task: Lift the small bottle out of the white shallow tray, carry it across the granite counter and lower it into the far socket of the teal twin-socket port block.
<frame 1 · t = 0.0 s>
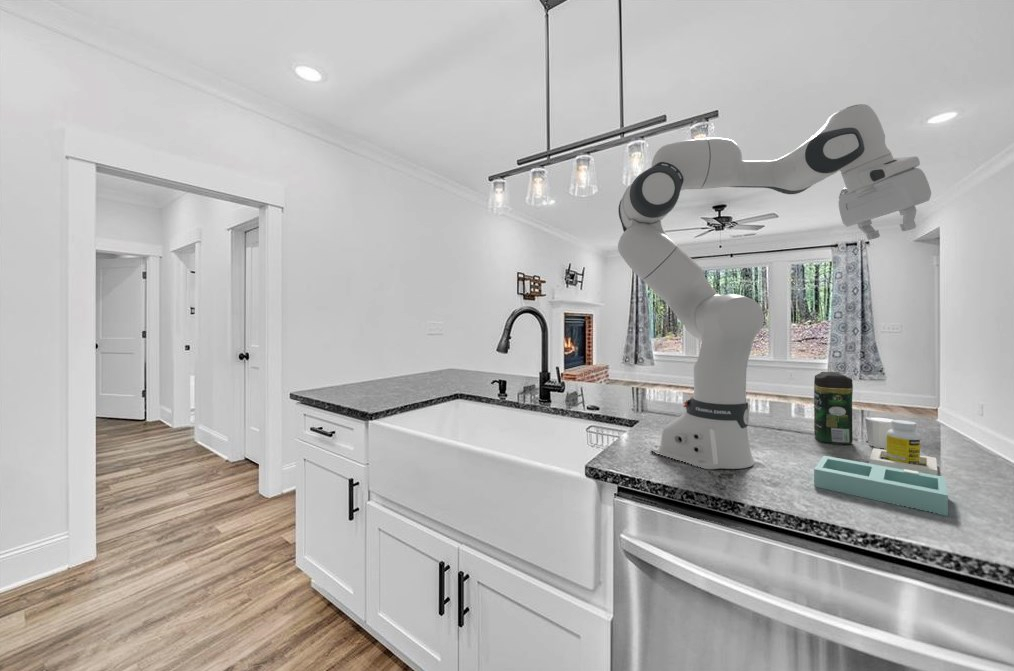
hand: (890, 234, 92), 52 cm above the worktop, tool tilted 20°, fingers open, 8 cm apart
coffee jar: (832, 441, 111), on the worktop
port block: (877, 490, 78), on the worktop
white round container: (882, 447, 105), on the worktop
supplement bottle: (902, 465, 92), resting in white shallow tray
white shallow tray: (902, 464, 92), on the worktop
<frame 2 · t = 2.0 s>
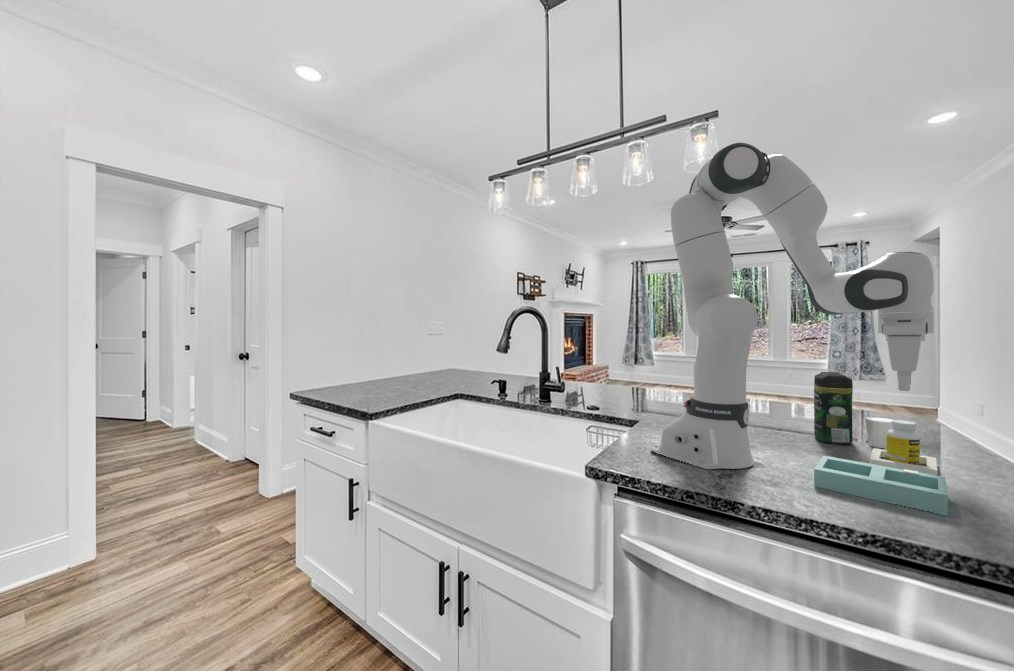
hand: (904, 387, 91), 17 cm above the worktop, tool pointing down, fingers open, 8 cm apart
nothing on the worktop moved.
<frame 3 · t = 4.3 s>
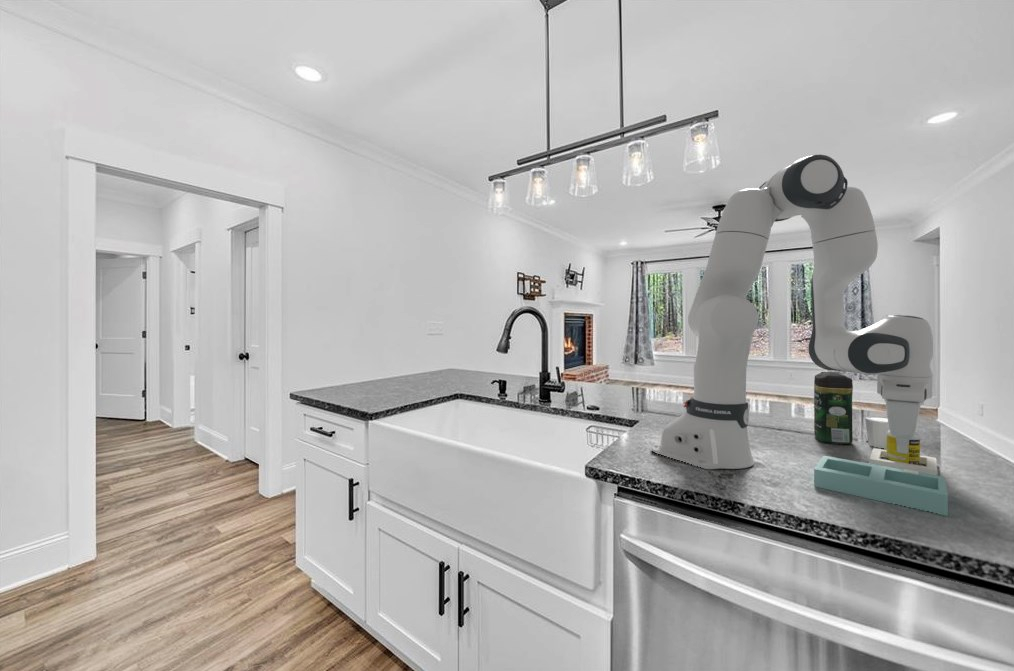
hand: (903, 448, 91), 4 cm above the worktop, tool pointing down, fingers closed on supplement bottle, 5 cm apart
supplement bottle: (902, 465, 92), resting in white shallow tray, touching gripper
everything else where it was.
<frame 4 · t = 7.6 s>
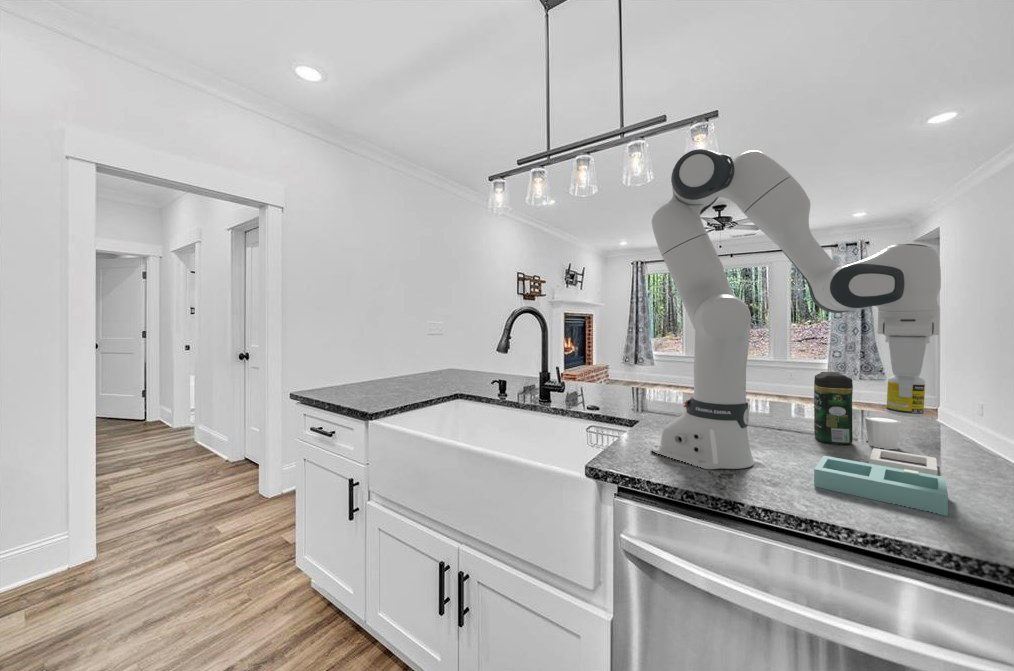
hand: (905, 394, 82), 18 cm above the worktop, tool pointing down, fingers closed on supplement bottle, 5 cm apart
supplement bottle: (904, 415, 82), point 13 cm above the worktop, touching gripper
everything else where it was.
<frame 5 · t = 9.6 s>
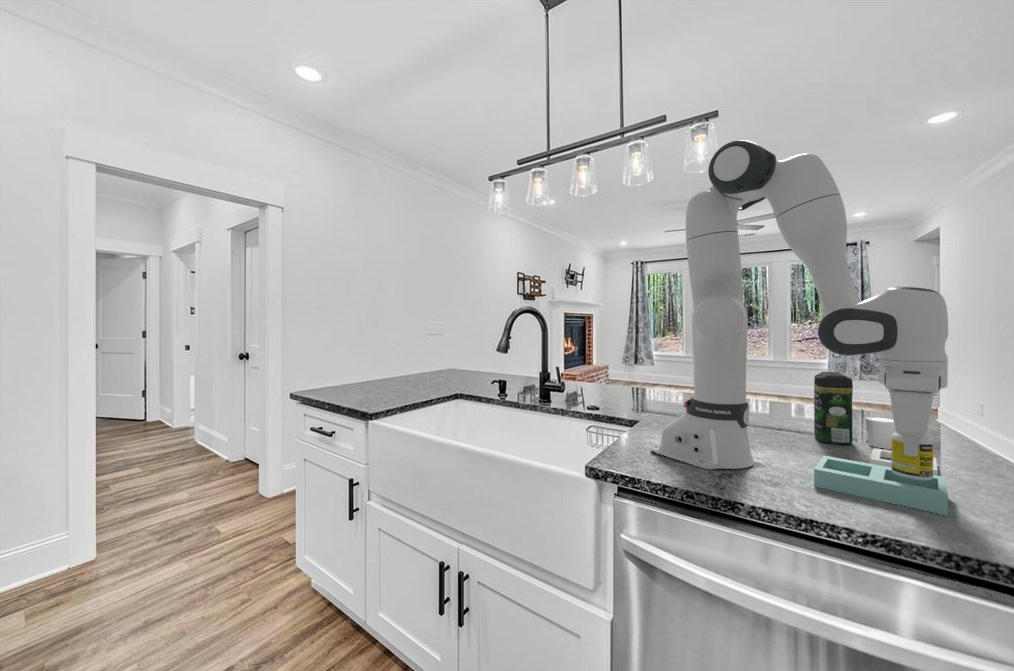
hand: (911, 450, 75), 9 cm above the worktop, tool pointing down, fingers closed on supplement bottle, 5 cm apart
supplement bottle: (912, 477, 75), point 4 cm above the worktop, touching gripper
everything else where it was.
when the fingers open (5 cm above the worktop, at t = 10.9 s): supplement bottle stays where it is, resting in port block.
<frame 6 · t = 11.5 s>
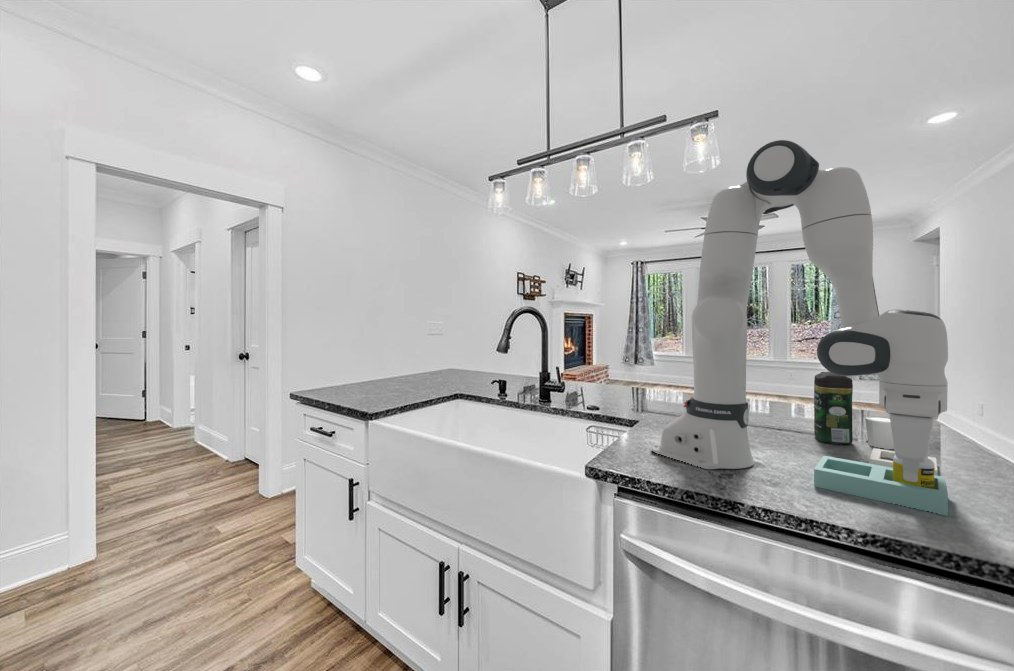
hand: (910, 473, 75), 5 cm above the worktop, tool pointing down, fingers open, 8 cm apart
supplement bottle: (912, 499, 75), resting in port block
everything else where it was.
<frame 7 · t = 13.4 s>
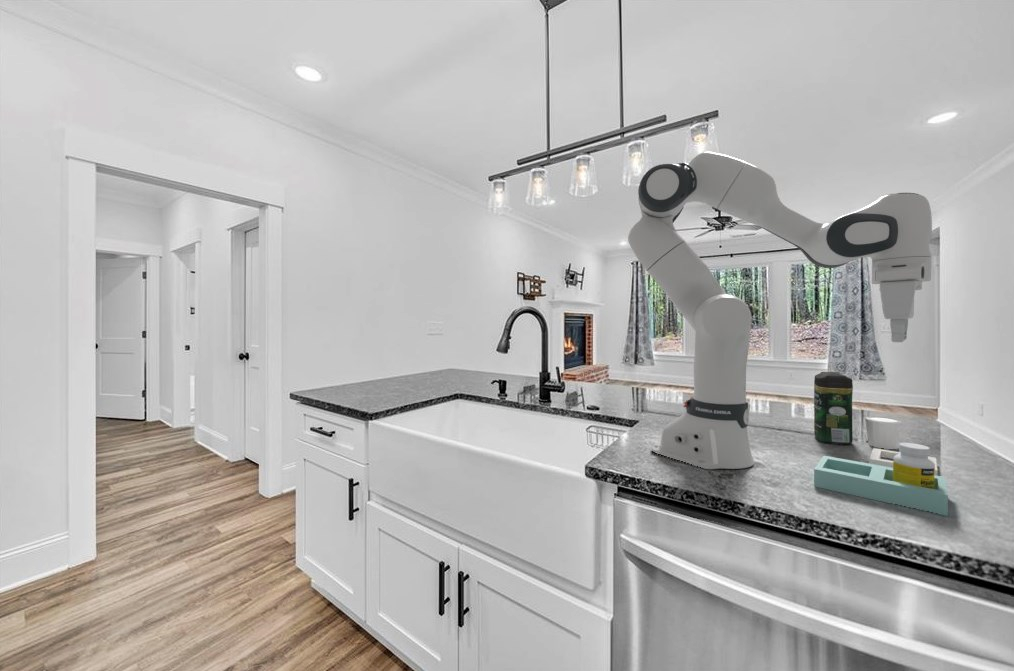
hand: (899, 341, 84), 28 cm above the worktop, tool pointing down, fingers open, 8 cm apart
nothing on the worktop moved.
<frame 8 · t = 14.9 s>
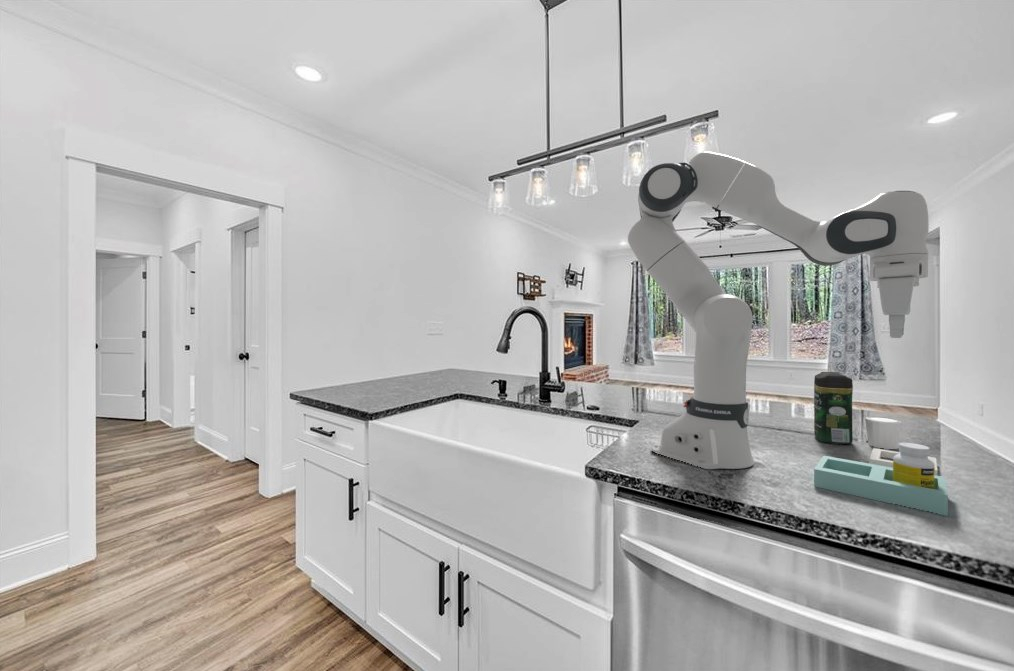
hand: (897, 336, 86), 29 cm above the worktop, tool pointing down, fingers open, 8 cm apart
nothing on the worktop moved.
at the end: supplement bottle 0.3 cm from the target spot on the port block, point 0.0 cm above the port block's base; supplement bottle tilted 0°; the gripper is holding nothing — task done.
